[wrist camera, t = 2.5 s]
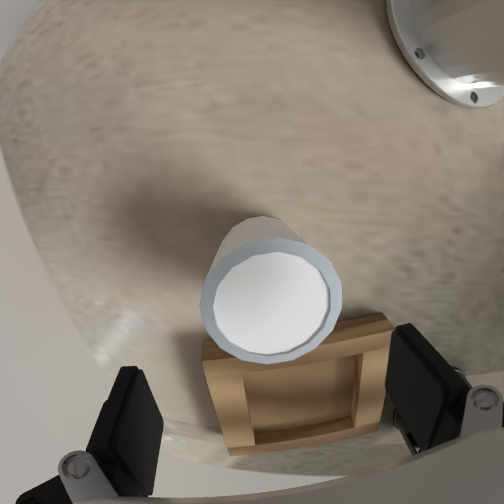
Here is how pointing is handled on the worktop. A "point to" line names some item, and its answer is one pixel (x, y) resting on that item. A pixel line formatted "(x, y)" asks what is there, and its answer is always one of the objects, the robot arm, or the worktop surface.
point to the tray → (302, 390)
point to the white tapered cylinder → (269, 293)
